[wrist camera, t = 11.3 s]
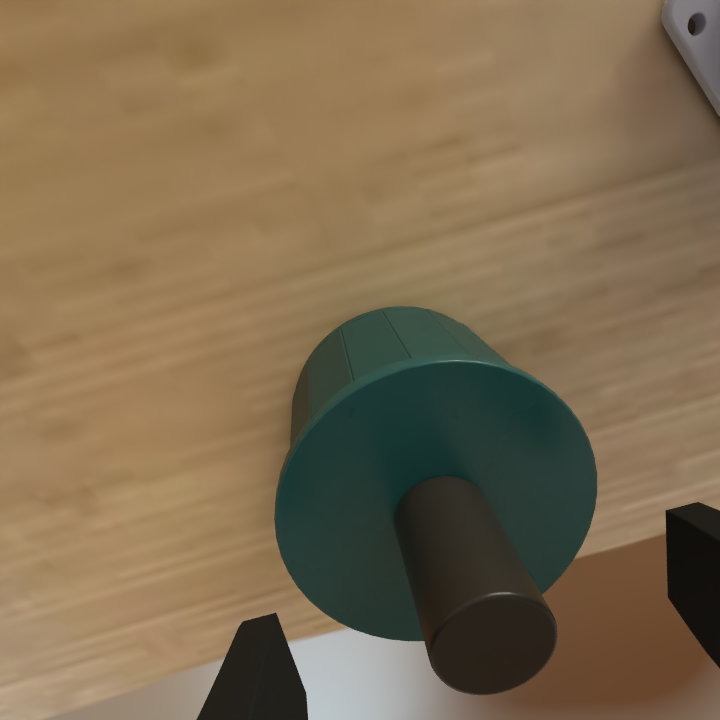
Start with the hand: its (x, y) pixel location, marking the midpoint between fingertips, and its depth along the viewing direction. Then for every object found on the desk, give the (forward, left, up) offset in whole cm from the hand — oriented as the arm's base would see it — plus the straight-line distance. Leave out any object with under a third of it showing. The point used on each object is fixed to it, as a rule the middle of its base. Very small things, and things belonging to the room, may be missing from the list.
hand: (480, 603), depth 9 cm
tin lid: (0, 0, -3) cm, 3 cm away
